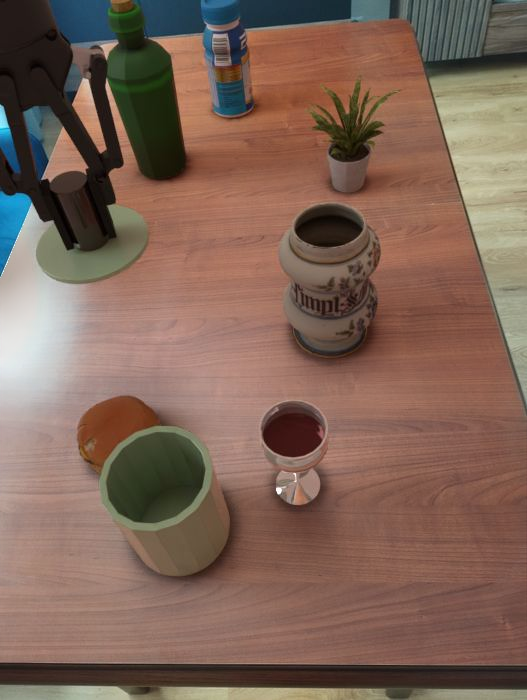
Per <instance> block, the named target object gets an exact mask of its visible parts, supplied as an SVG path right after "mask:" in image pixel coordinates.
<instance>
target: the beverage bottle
mask: <svg viewBox="0 0 527 700" xmlns="http://www.w3.org/2000/svg"><path fill="white" fill-rule="evenodd" d="M200 10H201V16H202V20H203V22H204V24H205V28H204V31H203V35H202V46H203V48H204V54H203V59H204V63H205V67H206V71H207V77H208V83H209V90H210V95H211V102H212V103H211V104H212V109H213V112H214V113H215V114H216V115H218V116H219V117H222V118H227V119H234V118H240V117H243V116H245V115H247V114H249V113H250V112H251V111H252V110H253V109H254V105H255V100H254V95H253V82H252V74H251V62H250V58H251V57H250V55H251V53H250V47H249V46H248V44H247V43H248V35H247V31H246V29H245V27H244V26H243V25H242V23H241V22H240V21H239V20H240V19H241V4H240V0H200Z"/></svg>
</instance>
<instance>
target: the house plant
mask: <svg viewBox="0 0 527 700" xmlns="http://www.w3.org/2000/svg"><path fill="white" fill-rule="evenodd" d="M361 83H362V74H359V76H358V77H357V80H356V81H355V85H354V88H353V92H352V95H351V94H348V98H349V105H348V111H349V113H347V112H346V109H345V107H344V104H343V102H342V100H341V98H340V97H339V95H338V94H337V93H336V92H335V91H333V90H331V89H329V88H328V87H327V86H325V85H323V84H320V83H318V85H319V86H320V88H322V89H323V90H324V91H325V94H327V95H328V96H329V97H330V99H331V100H332V101H333V103H334V106H335V109H336V112H337V115H338V117H339V119H340V123H341V125H340V124H338V123H337V121H336V120H335V118H334V117H333V116H332V115H331V114H330V112H329V111H328V110H327V109H325V108H324V107H322V106H320V105H319V104H317V103H314V102H308V104H309V105H312V106H314V108H316V109H318V110H319V111H321V112H322V113H323V114H324V115H325V116H326V117H327V118H326V117H324V116H323V115H322V114H320V113H317V112H316V111H315V110H313V109H312V108H309V107H307V106H305V109H306V111H307V112H308V113H309V114H310V115H311V116H312V119H313V120H314V122H315V123H316V125H314V126H312V127H311V128H310V129H309V130H310V131H321V132H324V133H326V134H327V135H328V136H329V138H328V139H322V142H325V143H330V144H329V145H328V147H327V149H326V156H327V160H328V161H327V162H328V167H329V172H330V178H331V184H332V186H333V188H334V189H335V190H336V191H339V192H340V193H353V192H356V191H358V190H360V189H361V188H362V187H363V186H364V183H365V179H366V174H367V171H368V167H369V163H370V160H371V159H370V158H371V155H372V150H373V151H374V150H375V149H374V148H375V146H376V142H375V141H373V140H371V139H373V138H376V137H378V136H381V135H382V134H385V132H384V131H382V130H380V128H382V127H387V125H386V124H385V123H383V122H382V121H381V120H376V118H378V117H379V116H380V115H381V114H382V113H383V112H385V111H386V109H384V110H383V111H381V112H380V113H378V114H377V115H376V116H374V118H373V119H372V120H371V118H372V117H373V115H374V114H375V113H376V112H377V111H378V109H379V108H380V107H381V106H382V105H384V104H385V102H386V101H387V100H388V99H389V98H391V97H393V95H395V94H398V93H400V92H402V91H403V89H397V90H393V91H390V92H388V93H386V94H384V95H383V96H379V95H378V96H377V95H376V96H371V97H370V98H369V96H370V92H371V87H369V88H368V89H367V90H366V91H365V94H364V96H363V99H362V102H359V98H360V95H361V89H362V84H361ZM377 98H379V99H378V100H377V101H376V102H375V103H374V104H373V105H372V107H371V108H370V110H369V112H368V114H367V115H366V117H365V119H364V114H365V110H366V106H367V105H368V103H369V102H370V101H372V100H375V99H377ZM327 119H329V121H330V122H329V121H328V120H327ZM363 119H364V120H363ZM370 120H371V121H370Z"/></svg>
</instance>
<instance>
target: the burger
mask: <svg viewBox="0 0 527 700" xmlns="http://www.w3.org/2000/svg"><path fill="white" fill-rule="evenodd" d="M154 426H163V425H162V423H161V422H160V420H159V417H158V415H157V414H156V412H155V411H154V409H152V408H151V407H150V406H149V405H148V404H146V403H145V402H144V401H143V400H142V399H140V398H138V397H136V396H133V395H130V394H129V395H128V394H127V395H117V396H114V397H110V398H108V399H105V400H102V401H100V402H98V403H96V404H94V405H93V406H91V407H90V408H89V409H88V410H86V411H85V413H83V415H82V416H81V417H80V420H79V423H78V425H77V429H76V431H77V434H76V441H77V443H78V451H79V455H80V456H81V457H82V458H83V460H84V461H85V463H87V464H89V466H91V469H92V470H93V471H94V472H96V473H97V474H99V475H100V476H101V473H102V470H103V466H104V463H105V461H106V460H107V458H108V457H109V456H110V454H111V453H112V452H113V450H114V449H115V448H116V446H117V445H118V444H119V443H121V442H122V441H124V440H125V439H127V438H128V437H129V436H131V435H132V434H134V433H135V432H138V431H141V430H144V429H148V428H151V427H154Z"/></svg>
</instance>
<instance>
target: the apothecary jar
mask: <svg viewBox="0 0 527 700" xmlns="http://www.w3.org/2000/svg"><path fill="white" fill-rule="evenodd" d="M381 254H382V247H381V242H380V239H379V237H378V235H377V233H376V232H375V230H374V229H373V228H372V227H371V226H370V225H369V224H368V222H367V219H366V217H365V216H364V214H363V213H362V212H361V210H359V209H357V208H356V207H354V206H352V205H350V204H348V203H344V202H338V201H323V202H318V203H314V204H312V205H309V206H307V207H305V208H303V209H302V210H300V211H299V212H298V213H297V214H296V215H295V217H294V218H293V219H292V222H291V225H290V227H289V228H288V229H287V231H285V233H284V234H283V236H282V238H281V240H280V242H279V245H278V253H277V256H278V262H279V264H280V267H281V269H282V271H283V273H285V274H286V276H287V277H288V278H289V279H290V280H289V282H288V283H287V284H286V287H285V290H284V292H283V295H282V310H283V313H284V316H285V318H286V319H287V322H289V324H290V325H291V326H292V327H293V328H292V332H293V336H294V340H295V341H296V343H297V345H299V347H300V348H301V349H303V350H304V351H305V352H306V353H308V354H310V355H313V356H315V357H318V358H324V359H335V358H341V357H345V356H347V355H349V354H352V353H354V352H355V351H357V350H358V349H359V348H360V347H361V346H362V345H363V343H364V342H365V340H366V337H367V335H368V327H369V325H370V324H371V322H372V321H373V320H374V318H375V316H376V314H377V310H378V306H379V296H378V295H379V294H378V292H377V288H376V286H375V284H374V283H373V282H372V280H371V279H370V278H369V277H371V276H372V275H373V273H374V272H375V271H376V270H377V268H378V266H379V264H380V263H379V262H380V260H381Z"/></svg>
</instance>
